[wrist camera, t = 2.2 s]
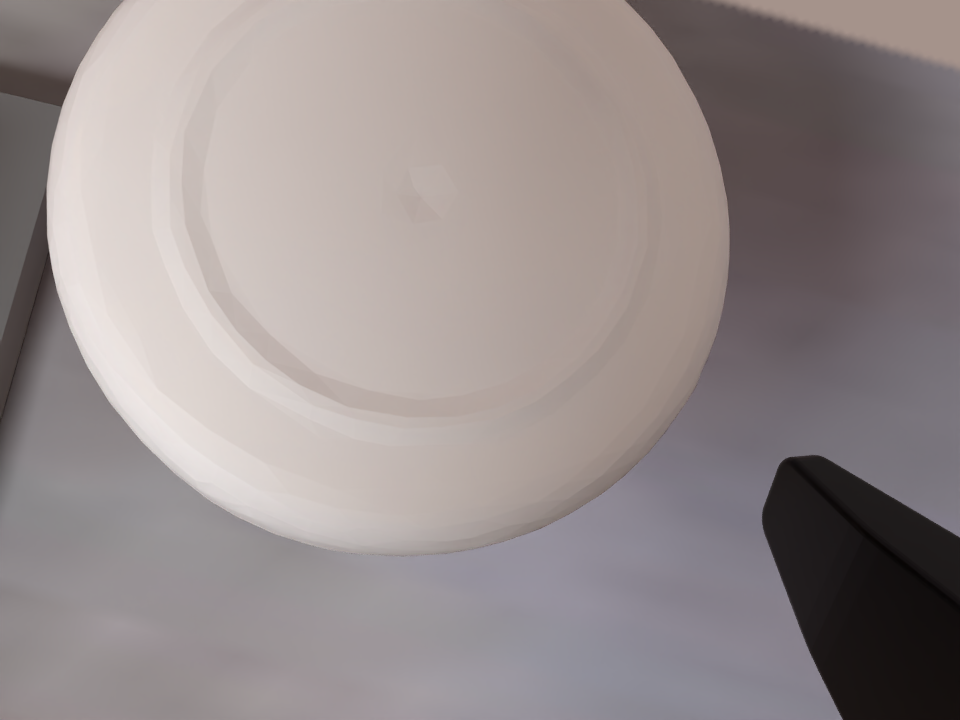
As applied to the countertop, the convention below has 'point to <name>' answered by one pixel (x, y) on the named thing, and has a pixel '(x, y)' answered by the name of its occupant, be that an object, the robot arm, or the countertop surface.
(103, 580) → the countertop surface
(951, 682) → the robot arm
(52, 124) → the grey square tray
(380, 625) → the countertop surface
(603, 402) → the sprinkles bottle
